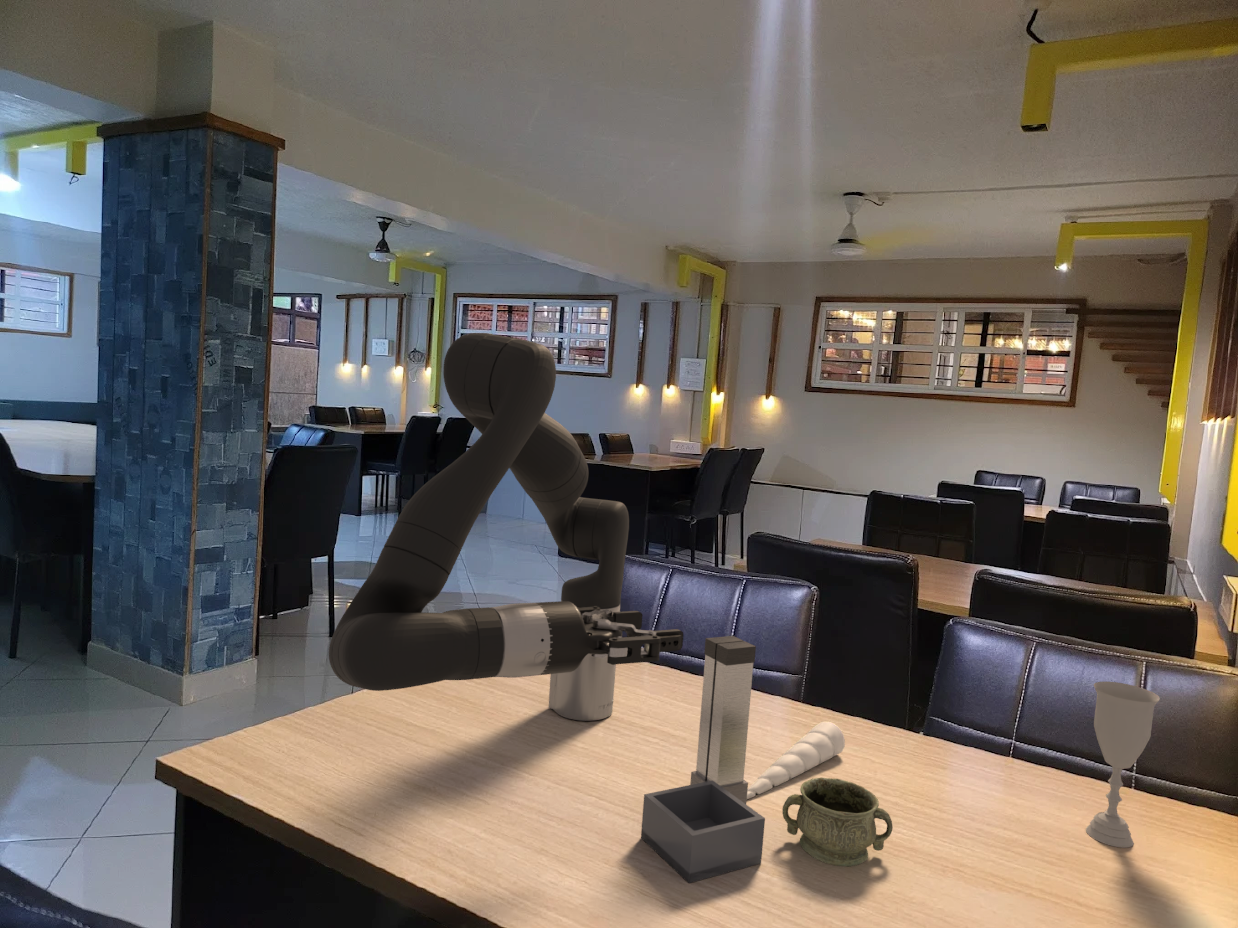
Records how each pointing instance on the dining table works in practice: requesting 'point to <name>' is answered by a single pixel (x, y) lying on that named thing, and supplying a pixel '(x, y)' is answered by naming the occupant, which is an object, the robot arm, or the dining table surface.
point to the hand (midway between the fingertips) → (660, 629)
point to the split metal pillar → (725, 714)
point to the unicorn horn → (801, 757)
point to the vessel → (837, 821)
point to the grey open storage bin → (702, 830)
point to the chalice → (1120, 749)
